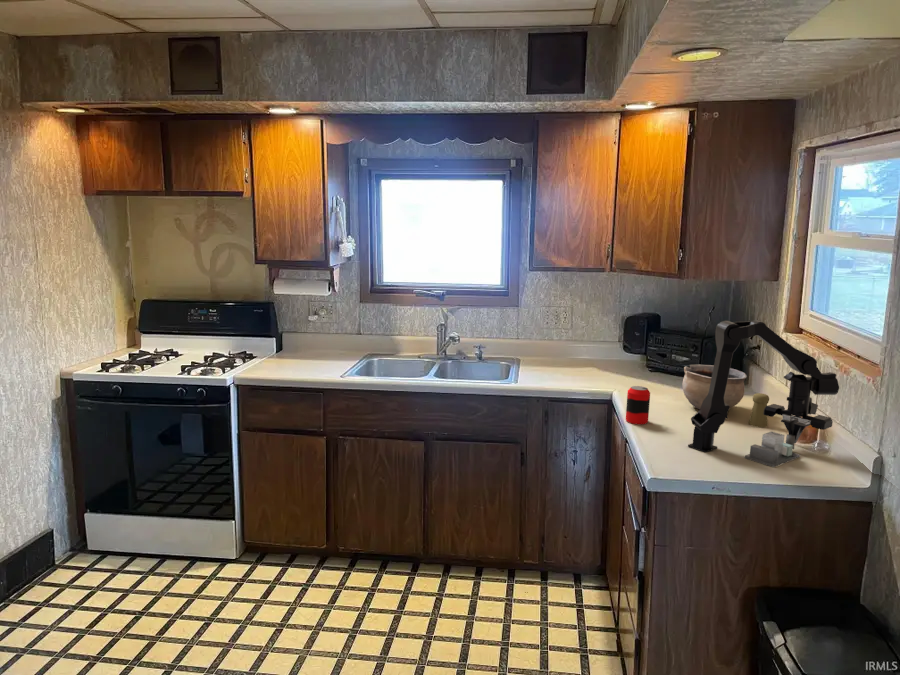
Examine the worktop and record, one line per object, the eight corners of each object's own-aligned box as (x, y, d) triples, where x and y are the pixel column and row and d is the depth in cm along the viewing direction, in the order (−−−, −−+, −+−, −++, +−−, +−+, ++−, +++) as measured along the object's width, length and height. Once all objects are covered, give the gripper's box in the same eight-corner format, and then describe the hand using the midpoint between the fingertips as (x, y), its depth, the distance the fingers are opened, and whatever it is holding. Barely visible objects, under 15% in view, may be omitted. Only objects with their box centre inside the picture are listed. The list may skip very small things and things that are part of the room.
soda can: (647, 425, 233) (650, 391, 231) (624, 423, 235) (627, 389, 233) (648, 419, 240) (650, 386, 238) (626, 417, 242) (628, 384, 240)
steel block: (773, 459, 201) (775, 438, 200) (760, 455, 204) (762, 434, 203) (782, 455, 204) (784, 434, 203) (769, 451, 207) (771, 431, 206)
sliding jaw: (787, 456, 203) (788, 443, 202) (764, 449, 208) (766, 437, 208) (802, 450, 208) (804, 437, 208) (780, 444, 214) (781, 431, 213)
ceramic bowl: (680, 398, 268) (683, 361, 265) (739, 404, 262) (743, 366, 259) (680, 414, 247) (684, 374, 244) (745, 421, 241) (750, 379, 238)
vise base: (774, 467, 197) (775, 454, 196) (744, 458, 204) (746, 445, 203) (799, 457, 206) (801, 444, 205) (770, 448, 213) (772, 436, 212)
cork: (751, 420, 241) (754, 390, 239) (769, 424, 237) (773, 393, 235) (746, 424, 237) (749, 394, 234) (764, 428, 233) (768, 397, 231)
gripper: (843, 397, 206) (837, 446, 209) (782, 383, 221) (777, 429, 224) (826, 403, 200) (820, 453, 203) (765, 389, 214) (760, 436, 217)
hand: (794, 442), depth 212 cm, fingers closed, pressing on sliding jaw
